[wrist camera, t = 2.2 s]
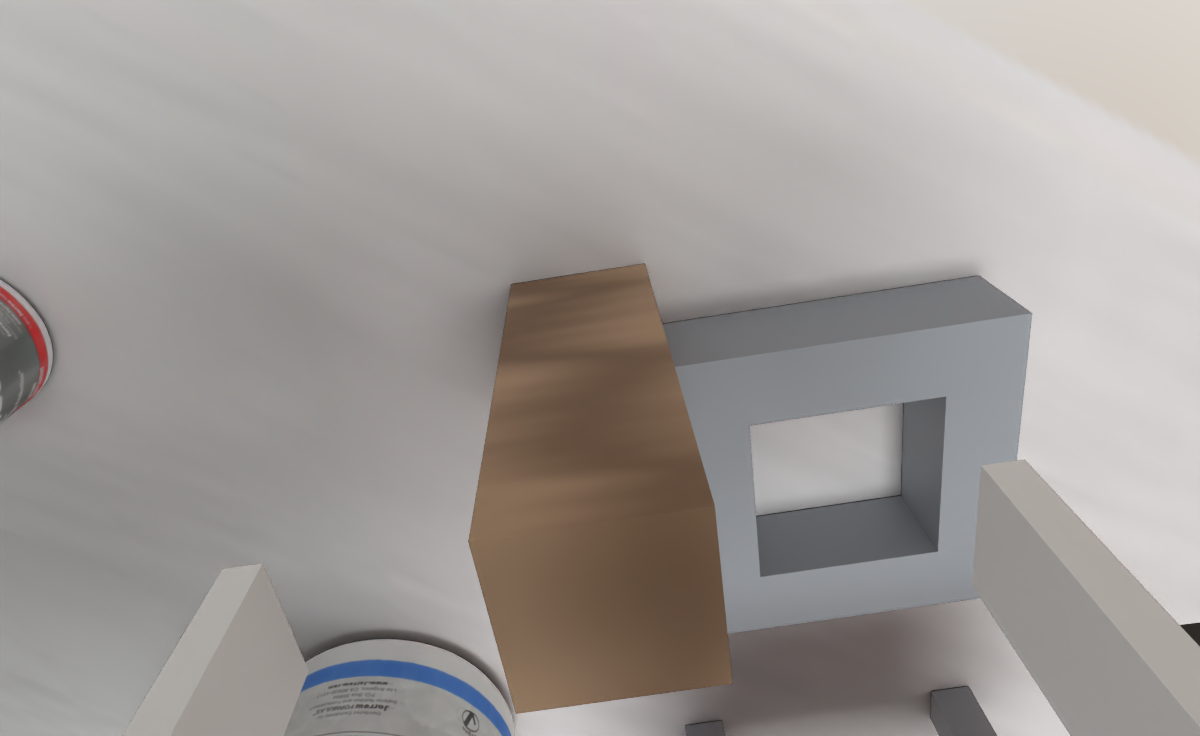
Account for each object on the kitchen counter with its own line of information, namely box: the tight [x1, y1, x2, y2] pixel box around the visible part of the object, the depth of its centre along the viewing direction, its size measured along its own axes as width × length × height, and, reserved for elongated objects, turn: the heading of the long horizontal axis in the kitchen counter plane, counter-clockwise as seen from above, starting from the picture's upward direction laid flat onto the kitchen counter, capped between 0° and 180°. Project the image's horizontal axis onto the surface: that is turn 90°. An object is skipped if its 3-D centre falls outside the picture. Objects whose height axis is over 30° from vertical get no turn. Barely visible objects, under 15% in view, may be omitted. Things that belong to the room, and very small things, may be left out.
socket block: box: [662, 276, 1032, 634], centre depth 25 cm, size 10×10×3 cm
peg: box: [468, 264, 733, 714], centre depth 19 cm, size 4×4×12 cm
